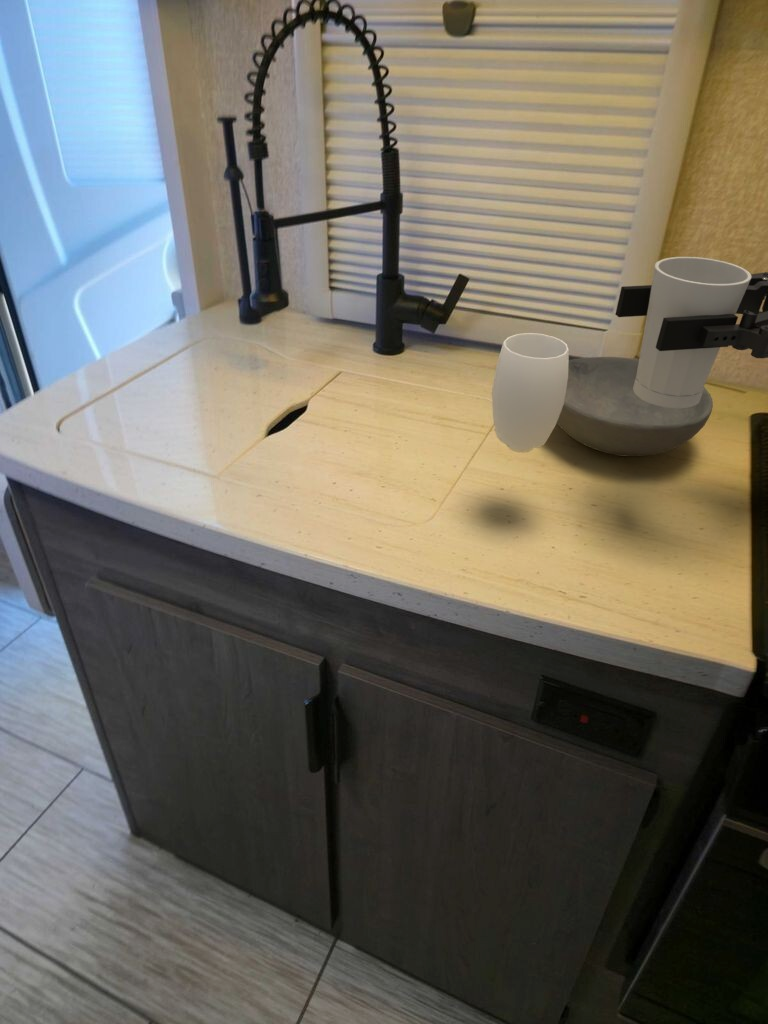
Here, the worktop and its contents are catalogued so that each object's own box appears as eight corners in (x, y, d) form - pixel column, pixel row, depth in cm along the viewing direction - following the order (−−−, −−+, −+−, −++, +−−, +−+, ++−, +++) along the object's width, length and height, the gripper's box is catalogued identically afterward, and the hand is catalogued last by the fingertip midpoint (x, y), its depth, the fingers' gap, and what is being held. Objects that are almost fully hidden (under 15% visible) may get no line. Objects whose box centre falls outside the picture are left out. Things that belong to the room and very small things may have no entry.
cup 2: (620, 403, 64) (651, 277, 57) (628, 370, 70) (658, 252, 63) (708, 419, 62) (753, 290, 54) (710, 383, 68) (750, 263, 60)
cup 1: (471, 499, 79) (490, 331, 66) (530, 496, 79) (560, 329, 67) (484, 538, 73) (508, 362, 60) (548, 534, 74) (585, 359, 61)
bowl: (516, 458, 86) (524, 402, 81) (552, 391, 101) (561, 341, 97) (688, 499, 79) (709, 441, 75) (700, 421, 95) (718, 369, 90)
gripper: (928, 388, 58) (686, 407, 55) (781, 306, 74) (586, 316, 70) (976, 303, 53) (714, 318, 50) (807, 235, 69) (601, 243, 66)
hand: (640, 317), depth 60 cm, fingers closed on cup 2, 7 cm apart
